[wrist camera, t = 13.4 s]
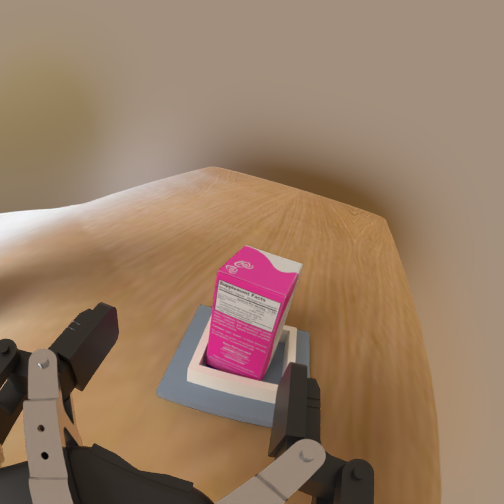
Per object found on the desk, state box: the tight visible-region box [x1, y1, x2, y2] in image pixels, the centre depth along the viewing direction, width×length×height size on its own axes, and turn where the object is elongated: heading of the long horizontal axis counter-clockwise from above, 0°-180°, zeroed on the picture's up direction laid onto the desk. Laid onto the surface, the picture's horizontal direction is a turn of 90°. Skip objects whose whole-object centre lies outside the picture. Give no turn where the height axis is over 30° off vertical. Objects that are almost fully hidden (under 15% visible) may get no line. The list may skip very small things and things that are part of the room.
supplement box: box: [206, 245, 303, 381], centre depth 25 cm, size 6×6×12 cm
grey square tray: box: [157, 304, 310, 428], centre depth 28 cm, size 14×14×3 cm
